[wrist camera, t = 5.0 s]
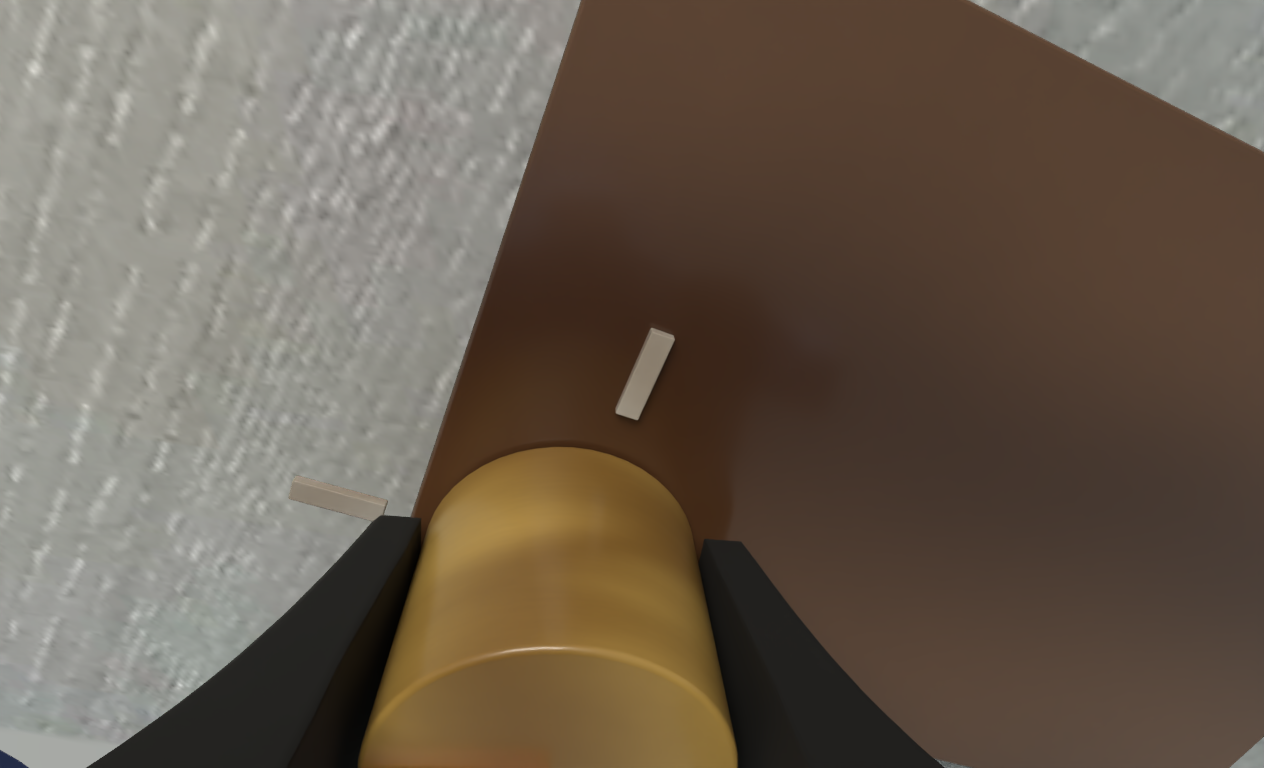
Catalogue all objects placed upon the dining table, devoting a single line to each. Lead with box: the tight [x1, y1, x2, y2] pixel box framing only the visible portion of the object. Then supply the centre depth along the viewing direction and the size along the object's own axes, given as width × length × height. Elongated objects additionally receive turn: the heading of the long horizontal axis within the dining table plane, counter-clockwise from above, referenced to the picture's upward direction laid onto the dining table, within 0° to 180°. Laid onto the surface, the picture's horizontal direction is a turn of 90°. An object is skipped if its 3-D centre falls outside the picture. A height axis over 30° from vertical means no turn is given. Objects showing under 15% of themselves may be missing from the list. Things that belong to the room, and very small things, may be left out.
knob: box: [357, 447, 738, 768], centre depth 10 cm, size 4×4×4 cm
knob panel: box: [289, 0, 1264, 768], centre depth 13 cm, size 14×20×3 cm
